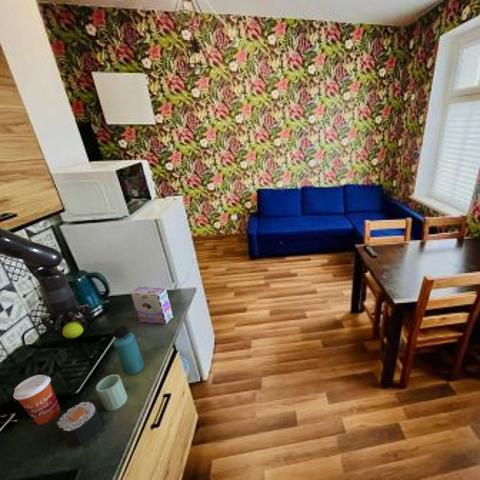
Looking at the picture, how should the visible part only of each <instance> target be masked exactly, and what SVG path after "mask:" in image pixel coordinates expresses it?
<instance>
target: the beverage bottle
mask: <svg viewBox="0 0 480 480" xmlns="http://www.w3.org/2000/svg"><path fill="white" fill-rule="evenodd" d="M113 337H114V338H115V339H114V340H113V341H112V345H113V346H114V349H115V352H116V354H117V358H118V360H119V363H120V364H121V365H120V366H121V368H122V371H123V372H124V374H125V375H127V376H132V375H135V374H137V373H139V372H140V371H142V369H143V368H144V366H145V361H144V358H143V356H142V353H141V350H140V347H139V345H138V342H137V340H136V336H135V334H134V333H132V332H130V331H129V328H128V327H127V326H126V325H121V326H119V327H116V328H115V329H114V330H113Z"/></svg>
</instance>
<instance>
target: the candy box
mask: <svg viewBox="0 0 480 480" xmlns="http://www.w3.org/2000/svg"><path fill="white" fill-rule="evenodd" d="M129 294H130V297H131V301H132V304H133V307H134V310H135V313H136V315H137V316H136V317H137V319H138V321H139V323H145V324H154V325H155V324H156V325H164V326H165V325H167V324H169V322H170V321H171V320H173V319H174V314H173V310H172V307H171V303H170V298H169V295H168V290H167V288H163V287H162V288H161V287H148V286H138V287H137V288H135V289H134V290H133V291H131V292H130V293H129Z"/></svg>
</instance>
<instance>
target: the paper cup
mask: <svg viewBox="0 0 480 480" xmlns="http://www.w3.org/2000/svg"><path fill="white" fill-rule="evenodd" d="M51 381H52V378H51V377H50V376H48V375H45V374H37V375H33V376H31V377H28V378H26V379H24V380H23V381H21V382H20V383H19V384H18V385H17V386H15V388H14V393H13V398H14V399H15V400H17V401H18V402H19V404H20V405H21V406H22V408H23V409H24V410H25V411H26V413H27V414H28V415H29V416H30V418H31V419H32V420H33V421H34V423H36V424H37V425H39V426H40V425H46V424H48V423H50V422H52V421H53V420H55V419H56V418H57V417H58V416H59V414H60V413H61V406H60V404H59V401H58V399H57V397H56V394H55V392H54V389H53V386H52V384H51Z"/></svg>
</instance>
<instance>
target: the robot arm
mask: <svg viewBox="0 0 480 480" xmlns="http://www.w3.org/2000/svg"><path fill="white" fill-rule="evenodd" d="M0 235H1V236H3V237H2V238H0V255H2V256H5V257H8V258H11V259H15V260H22V261H23V264H24V266H25V267H26V269H27V270H28V271H29V272H30V274H31V275H32V276H33V277H34V278H35V279H36V280H37V283H38V284H39V285H38V286H39V287H40V289H41V292H42V296H43V298H44V301H45V303H46V305H47V308H48V310H49V312H50V313H49V314H43V315H41V317H40V322H41V323H42V324H43V326H44V327H45V329H46V330H47V331H48V332H51V331H55V333H56V335H57V336H58V337H60V338H62V337H64V336H63V334H62V329H63V327H62V326H61V324H62V322H66V321H69V320H73V319H74V320H75V321H78V322H80V323H81V324H82V327H83V329H84V330H83V331H86V330H87V328H88V326H89V324H88V321H87V320H90V319H91V311H90V305H89V303H85V304H84V305H78V303H77V301H76V298H75V296H74V293H73V291H72V289H71V286H70V284H69V283H68V280H67V278H66V275H65V273H64V272H63V271H62V270H60V269H58V268H57V267H58V266H60V265H61V264H62V263H63V259H64V257H63V254H62V253H61V252H60V251H59V250H58V249H56V248H53V247H51V246H49V245H44V244H42V243H39V242H36V241H32V240H29V239H27V238H25V237H23V236H21V235H18V234H17V233H14V232H12V231H9V230H7V229H5V228H2V227H0ZM80 310H81V311H83V312H84V314H85V315H83V314H82V313H81V312H79V311H80ZM51 319H54V320H56V322H55V324H52V321H50V320H51Z"/></svg>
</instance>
